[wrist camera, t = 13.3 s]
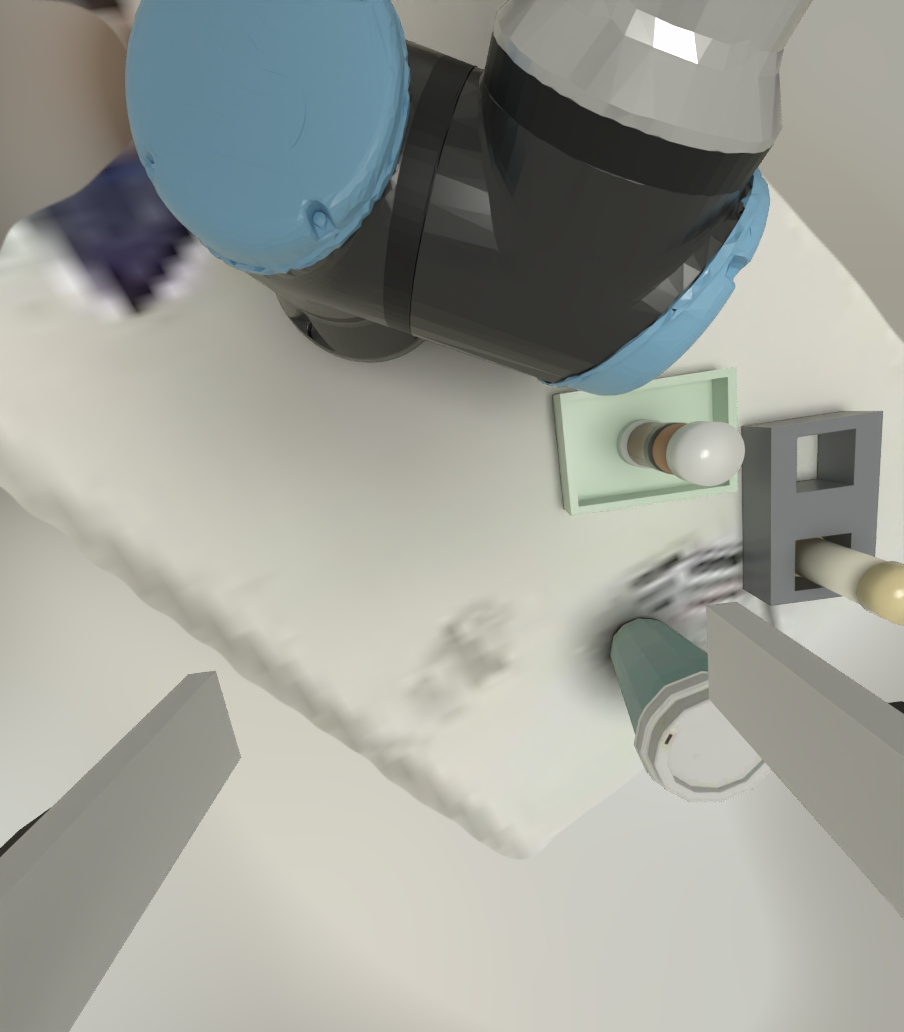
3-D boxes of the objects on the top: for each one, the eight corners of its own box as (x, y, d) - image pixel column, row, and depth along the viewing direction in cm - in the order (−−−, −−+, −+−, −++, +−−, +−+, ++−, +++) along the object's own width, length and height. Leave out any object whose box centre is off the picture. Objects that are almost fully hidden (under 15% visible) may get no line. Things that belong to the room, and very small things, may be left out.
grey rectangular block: (741, 426, 42) (771, 427, 38) (842, 411, 41) (883, 411, 37) (743, 589, 45) (770, 605, 41) (836, 576, 45) (872, 592, 41)
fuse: (768, 531, 44) (882, 574, 32) (812, 525, 43) (944, 566, 32) (768, 572, 45) (879, 629, 33) (811, 566, 44) (939, 621, 33)
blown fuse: (614, 423, 41) (678, 426, 29) (661, 416, 41) (744, 417, 29) (618, 469, 42) (681, 490, 30) (664, 462, 42) (745, 481, 30)
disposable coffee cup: (710, 617, 46) (829, 714, 31) (665, 707, 48) (757, 835, 33) (612, 585, 45) (688, 668, 30) (571, 677, 47) (623, 796, 33)
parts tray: (552, 395, 41) (559, 393, 38) (716, 370, 40) (736, 366, 38) (563, 508, 43) (571, 515, 40) (718, 486, 43) (737, 491, 40)
